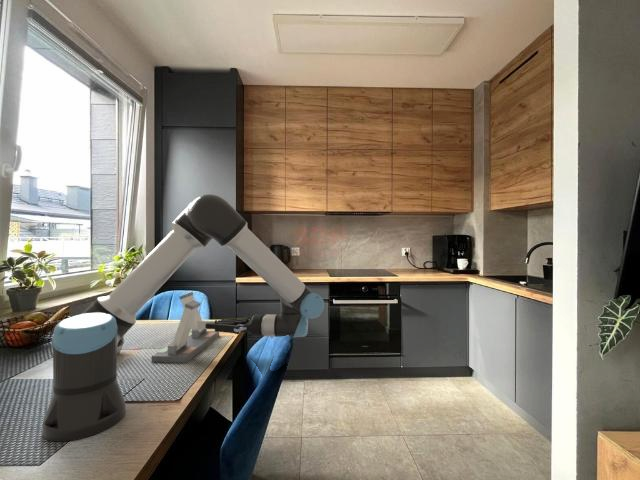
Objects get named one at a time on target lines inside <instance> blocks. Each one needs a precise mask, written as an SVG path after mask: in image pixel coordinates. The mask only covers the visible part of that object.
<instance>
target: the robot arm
mask: <svg viewBox="0 0 640 480" xmlns="http://www.w3.org/2000/svg"><path fill="white" fill-rule="evenodd" d="M171 225H172V226H171V227H172V230H170V232H169V233H168V234H166V236H165V237H164V238H163V239H162V240H161V241H160V242H159V243H158V244H157V245H156V246H155V247H154V248H153V249H152V250H151V251H150V252H149V253H148V255H146V257H145V258H144V259H143V260H141V262H140V263H139V264H138V265H137V266H136V267H135V268H134V269H132V271H131V272H130V273H129V274H128V275H127V276H126V277H125V278H124V279H123V280H122V281H121V282H120V283H119V284H118V285H117V286H116V287H115V288H114V289H113V290H112V292H110V293H109V295H106V296H98V297H97V298H96V299H95V300H94V301H93V302H92V303H91V304H90V305H89V306H88V307H87V308H86V309H85V310H84V311H83V312H82V313H80V314H77V315H73V316H70V317H67V318H65V319H63V320H61V321H59V322H58V323H57V324H56V325H55V327H54V329H53V335H52V338H51V342H52V380H53V381H52V383H53V384H52V391H53V392H52V397H51V400H50V403H49V405H48V408H47V410H46V412H45V413H46V414H45V416H44V418H43V420H42V437H43V438H44V439H46V440H47V441H51V442H70V441H76V440H81V439H83V438H87V437H91V436H93V435H96V434H99V433H101V432H104V431H105V430H107V429H109V428H111V427H112V426H114V425H116V424H117V423H118V422H119V421H121V420H122V419H123V418H124V416H125V414H126V400H125V397H124V395H123V393H122V390H121V388H120V386H119V382H118V379H117V377H118V376H117V371H118V370H117V367H118V366H117V363H118V362H117V360H118V358H117V357H118V356H117V355H118V353H117V345H118V342H119V340H120V339H121V338H122V337H123V336H125V335H126V334H127V333H128V332H129V331H130V329H131V328H132V327H133V326H134V325H135V324H136V322H137V320H136V319H137V317H136V315H137V313H138V312H139V311H140V310H141V309H142V308H143V307H144V306H145V305H146V304H147V303H148V301H149V300H151V298H152V297H153V296H154V295H155V294H156V293H157V292H158V291H159V289H161V287H163V285H164V284H165V283H166V282H167V281H168V280H169V279H170V278H171V277H172V275H173V274H174V273H176V271H177V270H178V269H179V268H180V267H181V266H182V265H183V264H184V263H185V262H186V260H187V259H188V258H189V257H190V256H191V255H192V254H193V252H195V251H196V250H197V249H198V250H199V249H204V248H205V247H206V246H207V245H208V244H209V243H210V242H211V241H212V239H213V240H214V241H215V242H216V243H218V244H219V245H220V246H221V247H222V248H228V249H230V250H231V251H232V252H233V253H234V254H235V255H236V256H237V257H238V258H239V259H241V260H242V262H244V263H245V264H246V265H247V266H248V267H249V268H250V269H252V270H253V272H255V273H256V274H257V276H259V277H260V278H261V279H262V280H263V281H264V282H265V283H267V284H268V285H269V286H270V287H271V288H272V289H273V290H274V291H275V292H276V293H277V294H278V295H280V296H279V297H280V301H279V302H280V303H279V304H280V314H271V313H270V314H265V315H264V314H253V315H252V317H251V319H250V317H249V316H246V317H236V318H221V320H220V319H219V320H217V319H215V320H202V321H197V329H207V330H214V331H215V332H219V333H227V334H235V335H240V332H241V333H247V332H250V334H251V336H252V337H253V338H258V337H263V336H264V337H267V338H271V339H273V338H274V337H276V338H279V337H281V338H283V337H282V336H286V335H289V336H290V335H292V337H291V338H304V337H307V335H308V330H309V319H316V318H319V317H320V316H321V315H322V314H323V312H324V310H325V301H324V299H323V297H322V296H321V295H320V294H318V293H316V292H313V291H312V290H311V289H310V288H309V287H308V286H307V285H305V284H304V282H303V281H302V280H301V279H300V278H299V277H297V275H296V274H295V273H294V272H293V271H292V270H290V269H289V267H288V266H287V265H286V264H285V263H284V262H282V260H281V259H279V257H278V256H277V255H276V254H275V253H273V251H272V250H271V249H269V247H267V246H266V244H264V243H263V241H261V240H260V239H259V237H258V236H256V235H255V233H254V232H252V231H251V230H250V229H249V227H248V222H247V221H246V219H245V218H243V216H241V214H240V213H238V211H237V210H236V209H235V208H234V207H233V206H232V205H231V204H230V203H229V202H228V201H227V200H225V198H223V197H221V196H219V195H215V194H210V193H209V194H203V195H201V196H198V197H197V198H195V199H194V200H193V201H191V202H190V203H189V204H188V205H187V206H186V207H185V209H183V211H182V212H181V213H180V214H179V215H178V216H177V217H176V218H175V219H174V220H173V221H172V222H171Z"/></svg>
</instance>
